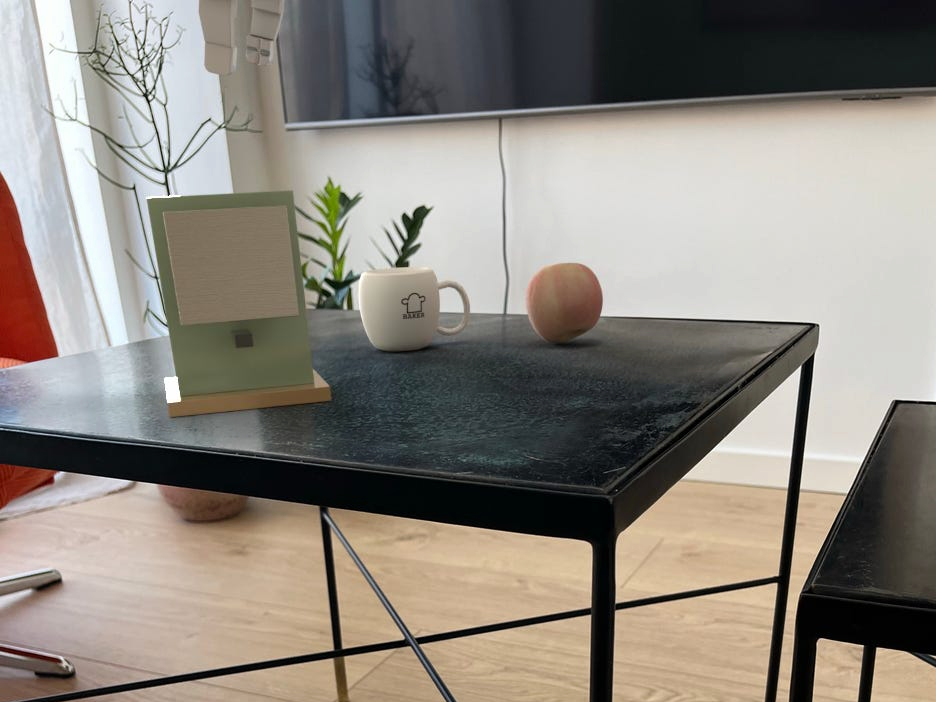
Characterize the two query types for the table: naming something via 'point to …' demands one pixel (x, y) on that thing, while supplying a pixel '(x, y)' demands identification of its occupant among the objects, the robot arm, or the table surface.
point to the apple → (564, 301)
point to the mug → (405, 307)
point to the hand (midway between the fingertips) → (240, 68)
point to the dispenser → (235, 332)
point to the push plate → (231, 264)
